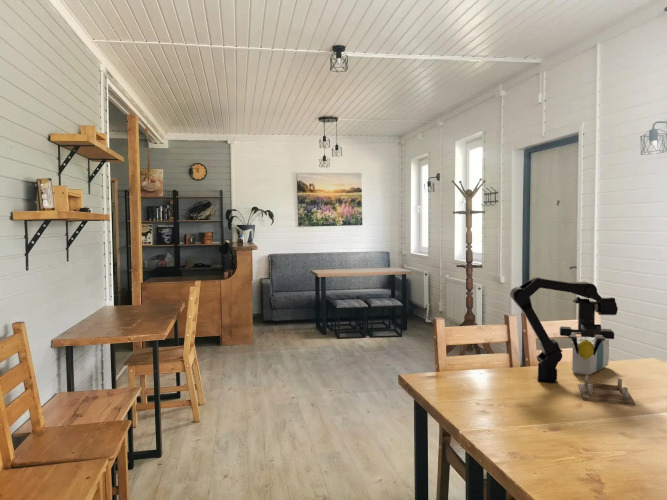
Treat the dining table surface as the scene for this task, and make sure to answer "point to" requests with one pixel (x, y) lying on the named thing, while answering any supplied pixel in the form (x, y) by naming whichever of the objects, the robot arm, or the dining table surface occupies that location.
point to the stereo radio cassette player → (594, 361)
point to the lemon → (585, 349)
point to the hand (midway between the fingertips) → (585, 354)
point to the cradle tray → (605, 392)
